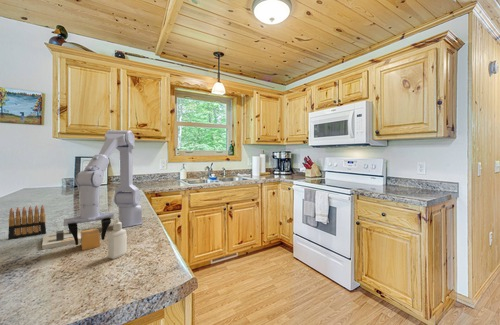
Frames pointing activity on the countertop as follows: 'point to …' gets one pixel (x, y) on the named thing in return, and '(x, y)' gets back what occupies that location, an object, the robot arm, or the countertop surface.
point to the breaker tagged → (59, 235)
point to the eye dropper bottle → (117, 241)
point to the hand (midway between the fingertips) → (90, 241)
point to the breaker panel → (51, 242)
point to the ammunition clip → (29, 228)
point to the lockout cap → (90, 239)
